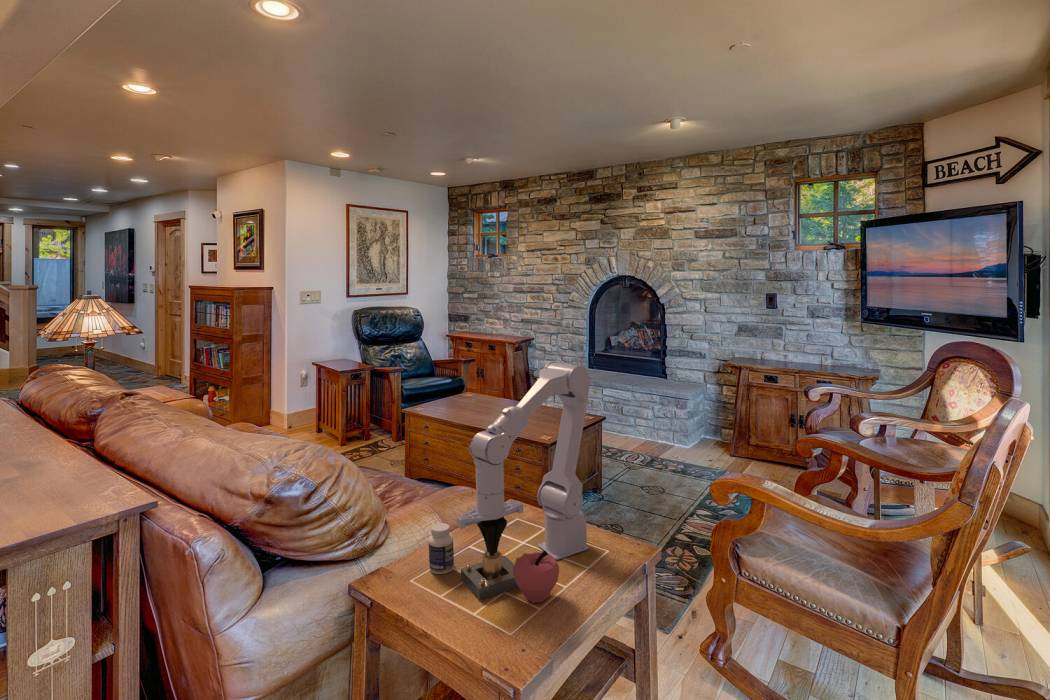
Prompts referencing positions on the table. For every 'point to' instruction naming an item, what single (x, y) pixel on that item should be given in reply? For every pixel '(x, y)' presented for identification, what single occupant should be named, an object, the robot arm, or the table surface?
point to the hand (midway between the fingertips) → (491, 551)
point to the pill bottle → (441, 549)
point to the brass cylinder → (492, 565)
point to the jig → (486, 589)
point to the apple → (536, 575)
